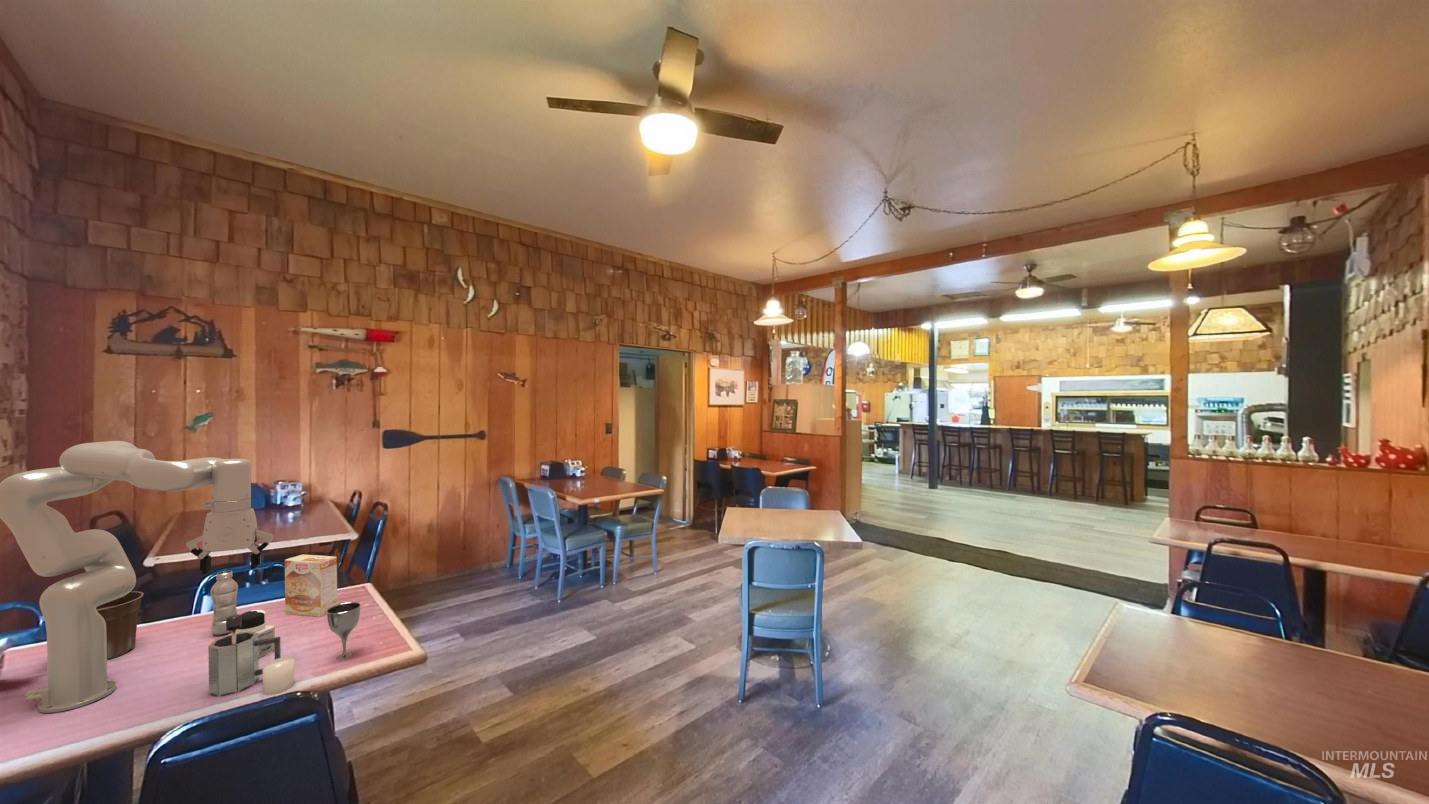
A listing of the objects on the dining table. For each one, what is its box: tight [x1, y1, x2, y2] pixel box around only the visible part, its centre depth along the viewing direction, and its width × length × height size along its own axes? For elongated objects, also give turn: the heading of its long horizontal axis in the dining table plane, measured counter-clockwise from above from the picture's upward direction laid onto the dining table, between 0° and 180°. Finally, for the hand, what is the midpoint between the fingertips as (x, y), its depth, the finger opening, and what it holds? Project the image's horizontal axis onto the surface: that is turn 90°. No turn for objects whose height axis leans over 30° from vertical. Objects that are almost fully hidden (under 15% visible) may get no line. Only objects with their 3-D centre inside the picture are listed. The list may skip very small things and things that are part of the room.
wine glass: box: [326, 601, 361, 660], centre depth 151 cm, size 8×8×15 cm
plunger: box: [226, 614, 242, 645], centre depth 136 cm, size 6×6×16 cm
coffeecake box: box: [284, 554, 338, 618], centre depth 184 cm, size 15×7×20 cm, turn 81°
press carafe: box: [207, 631, 282, 698], centre depth 137 cm, size 14×9×13 cm, turn 117°
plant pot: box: [96, 590, 144, 661], centre depth 153 cm, size 16×16×16 cm
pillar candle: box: [262, 656, 295, 695], centre depth 135 cm, size 6×6×7 cm
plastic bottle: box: [209, 570, 239, 636], centre depth 167 cm, size 6×7×20 cm
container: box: [228, 609, 276, 659], centre depth 153 cm, size 8×8×13 cm
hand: (230, 570), depth 135 cm, fingers open, 9 cm apart
